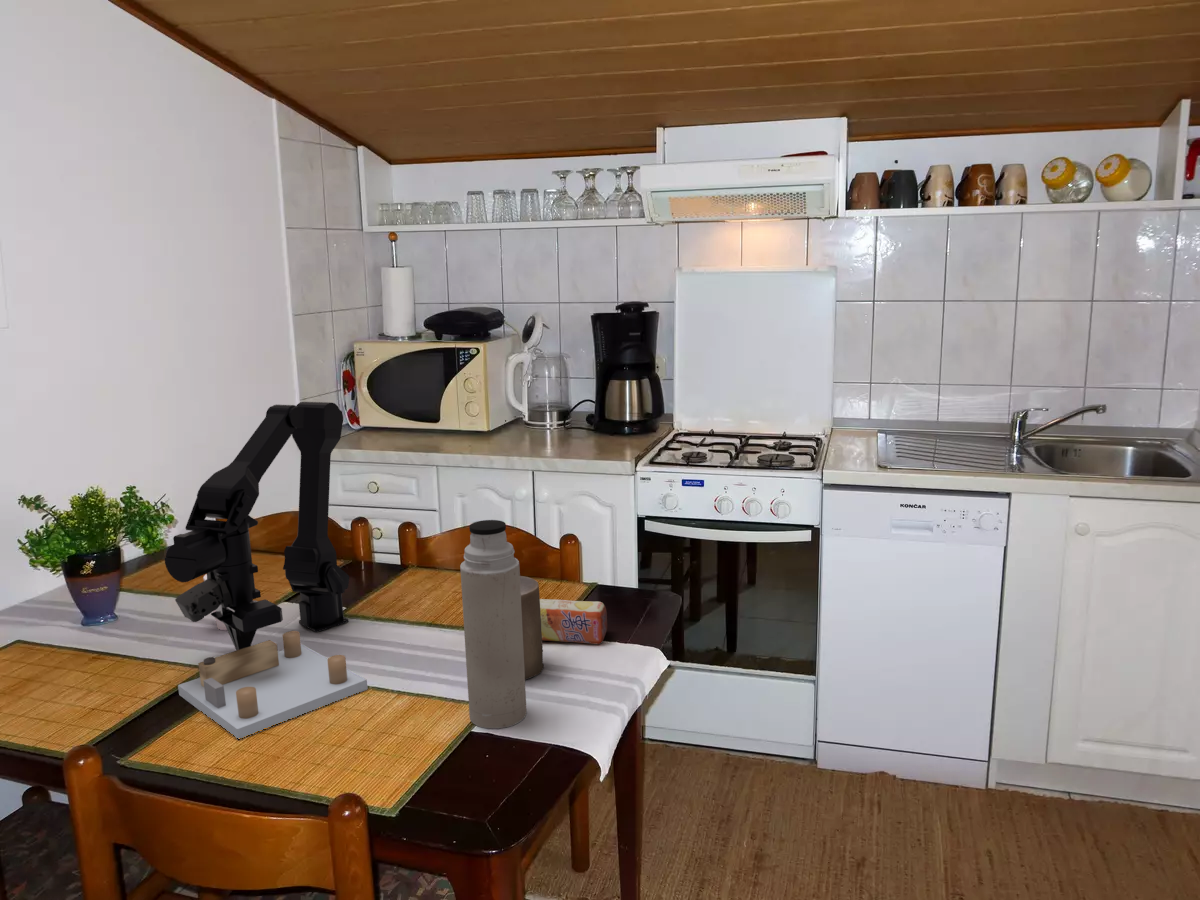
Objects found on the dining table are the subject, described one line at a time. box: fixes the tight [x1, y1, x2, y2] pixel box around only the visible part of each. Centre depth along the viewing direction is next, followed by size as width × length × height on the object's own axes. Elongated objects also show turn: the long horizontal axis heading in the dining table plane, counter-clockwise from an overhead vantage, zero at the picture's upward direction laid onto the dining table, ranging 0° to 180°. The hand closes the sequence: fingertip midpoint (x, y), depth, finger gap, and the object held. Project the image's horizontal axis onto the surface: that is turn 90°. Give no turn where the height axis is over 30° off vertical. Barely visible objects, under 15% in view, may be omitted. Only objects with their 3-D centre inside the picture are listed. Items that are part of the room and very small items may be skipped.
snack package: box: [540, 598, 608, 645], centre depth 158 cm, size 21×7×7 cm, turn 80°
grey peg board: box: [177, 630, 368, 740], centre depth 140 cm, size 20×20×5 cm
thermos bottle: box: [459, 519, 527, 730], centre depth 129 cm, size 8×8×28 cm
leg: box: [198, 639, 279, 687], centre depth 143 cm, size 11×2×4 cm, turn 135°
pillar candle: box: [520, 575, 545, 680], centre depth 145 cm, size 10×10×15 cm
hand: (242, 655), depth 148 cm, fingers closed
